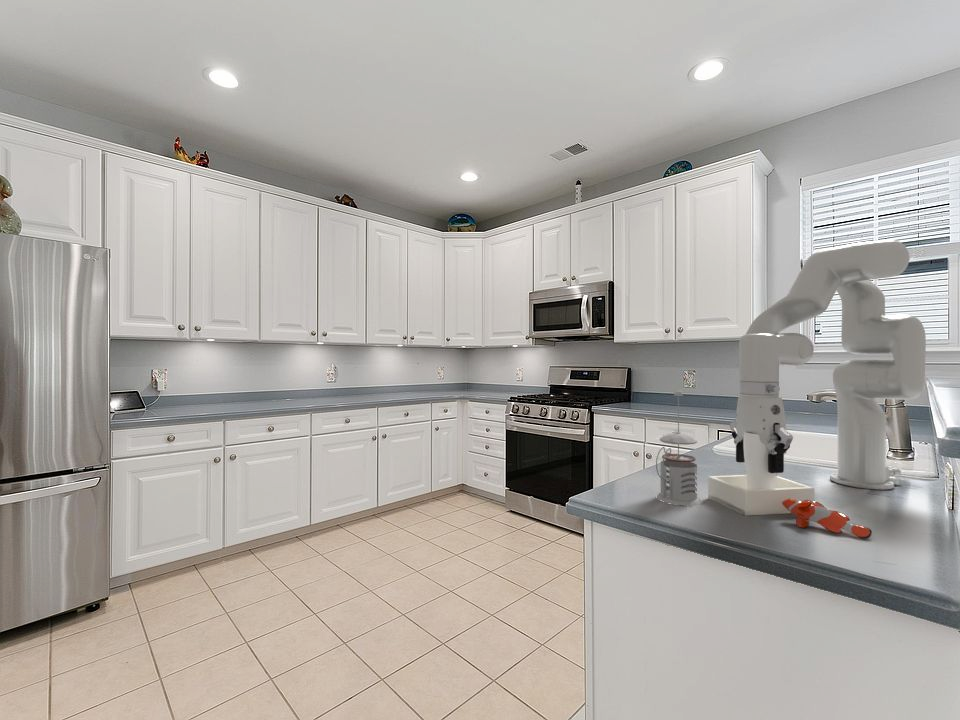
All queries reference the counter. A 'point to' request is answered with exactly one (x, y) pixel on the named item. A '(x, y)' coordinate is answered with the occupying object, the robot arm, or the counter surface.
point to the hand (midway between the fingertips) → (758, 467)
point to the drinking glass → (757, 463)
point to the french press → (678, 470)
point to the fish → (823, 517)
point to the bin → (756, 495)
